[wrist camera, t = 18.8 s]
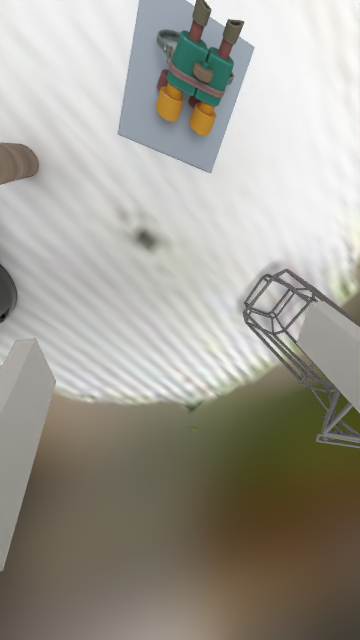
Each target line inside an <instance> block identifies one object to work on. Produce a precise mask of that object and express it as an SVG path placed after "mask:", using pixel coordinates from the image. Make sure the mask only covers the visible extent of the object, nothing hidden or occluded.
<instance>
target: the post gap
mask: <svg viewBox="0 0 360 640" xmlns="http://www.w3.org/2000/svg"><path fill="white" fill-rule="evenodd" d="M38 166H39V165H38V160H37V157H36V155H35V154H34V153H33V151H32V150H31V149H29V148H28V147H26V146H24V145H22V144H12V143H0V185H1V184H4V183H8V182H12V181H15V180H19V179H23V178H26V177H30V176H33V175H34V174H36V172H37V171H38Z"/></svg>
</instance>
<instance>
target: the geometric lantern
mask: <svg viewBox="0 0 360 640" xmlns="http://www.w3.org/2000/svg"><path fill="white" fill-rule="evenodd" d="M285 272H287V273H289V274H290V275H291V276H292V277H294V278H295V279H296V280H297V281H298V282H300V283H301V284H302V285H303V286H304V287H306V288H294V287H293V286H292V285H290V284H288V283H286V282H285V281H283V280H282V279H280V278H279V276H280V275H282V274H283V273H285ZM267 276H268V277H269V278H270V279H269V280H267V279H266V278H265V277H267ZM263 279H264V280H265V281H266V282H267V283H266V285H265V286H264V287H263V288H262V290H261V291H260V292H259V293H258V294H257V296H256V297H255V298H254V299H253V301H252V302H251V303H250V304H248V303H246V302H247V301H248V300H249V298H250V297H251V295H252V294H253V292H254V291H255V290H256V288H257V287H258V285H259V284H260V282H261V281H262V280H263ZM272 281H275V282H278V283H280V284H282V285H284V286H286V287H287V288H289V290H288V291H287V292H286V294H285V295H284V296H283V297H282V299H281V300H280V301H279V303H278V304H277V305H276V307H275V308H274V309H273V310H272V312H270V313H268V314H267V313H264V312H262V311H259V310H257V309H254V308H251V307H252V306H253V305H254V303H255V302H256V300H257V299H258V298H259V296H260V295H261V294H262V293H263V292H264V290H265V289H266V288H267V287H268V286H269V284H270V283H271V282H272ZM290 290H291V291H292V292H293V294H292V295H291V296H290V298H289V299H288V300H287V302H286V303H285V304H284V306H283V307H282V308H281V310H280V311H279V313H278V314H277V315H276V314H275V313H274V310H275V309H276V308H277V307H278V305H279V304H280V303H281V301H282V300H283V299H284V298H285V296H286V295H287V294H288V292H289V291H290ZM297 290H309V291H310V292H312V297H309V296H306V295H303V294H301V293H300V292H298V291H297ZM294 294H297V295H298V296H299V297H301V298H302V299H303V300H304V301H306V302H307V304H306V305H305V306H304V307H303V308H302V309H301V311H300V312H299V313H298V314H297V315H296V316H295V317H294V318H293V319H292V321H291V322H290V323H289V324H288V325H287V326H286V327H285V328H284V327H283V326H282V324H281V323H280V321H279V319H278V318H277V317H278V315H279V314H280V313H281V311H282V310H283V309H284V307H285V306H286V305H287V303H288V302H289V301H290V299H291V298H292V297H293V295H294ZM315 296H316V297H318V298H319V299H320V300H321V301H325V302H326V303H327V304H329V305H330V306H331V307H333V308H334V309H336V310H337V311H338V312H340V313H341V314H342V315H344V316H345V317H346V318H348V319H349V320H350V321H352V322H353V323H355V324H356V325H357V326H359V327H360V323H359V322H357V321H356V320H355V319H354V318H352V317H351V316H350V315H349V314H347V313H346V312H345V311H344V310H342V309H341V308H340V307H338V306H337V305H336V304H335V303H333V302H332V301H331V300H330V299H328V298H327V297H326V296H325V295H323V294H322V293H321V292H320V291H318V290H317V289H316V288H315V287H313V286H312V285H310V284H309V283H307V282H306V281H304V280H303V279H302V278H300V277H299V276H297V275H296V274H294V273H293V272H291V271H290V270H289V269H285V270H283V271H281V272H278V273H276V274H274V275H273V276H271V275H269V274H266V275H265V276H263V277H262V278H261V279H260V281H259V282H258V284H257V285H256V287H255V288H254V289H253V291H252V292H251V294H250V295H249V297H248V298H247V299H246V301H245V302H244V304H245V306H246V309H245V310H244V312H243V316H244V321H245V323H246V324H247V325H248V326H249V327H250V329H251V330H252V331H253V332H254V333H255V334H256V335H257V336H258V337H259V338H260V339H261V340H262V341H263V342H264V343H265V345H266V346H267V347H268V348H269V349H270V350H271V351H272V352H273V353H274V354H275V355H276V356H277V357H278V359H279V360H280V361H281V362H282V363H283V364H284V365H285V366H286V367H287V368H288V369H289V370H290V371H291V373H293V375H294V376H295V377H296V378H297V379H298V380H299V381H300V382H304V381H305V382H306V383H307V384H303V383H299V385H302V386H305V387H309V388H310V389H311V390H312V391H313V393H314V394H315V396H316V397H317V399H318V400H319V401H320V403H321V404H322V405H323V406H324V408H325V409H326V411H327V412H328V413H326V414H325V416H326V417H324V416H322V419H323V420H324V425H323V428H322V431H321V433H322V434H321V433H318V434H317V437H316V439H315V440H316V441H317V442H322V443H329V444H336V445H343V446H349V447H356V448H360V445H354V444H347V443H340V442H333V441H328V440H332V439H340V440H346V441H351V442H357V443H360V434H359V433H357V432H356V431H355V430H354V429H352V428H351V427H350V426H349V425H347V424H346V423H345V422H344V421H342V420H341V418H342V417H343V416H344V415H345V414H346V413H347V412H348V411H349V410H350V409H351V408H352V407H353V405H352V404H351V403H350V402H349V403H348V404H347V405H346V406H345V407H344V408H343V409H342V410H341V411H340V412H339V413H338V414H336V410H335V407H336V404H337V401H338V398H339V395H340V393H341V392H340V391H339V390H338V389H337V387H336V386H335V385H334V384H333V383H332V382H331V381H330V380H329V379H328V378H327V377H326V378H327V379H328V380H329V381H330V382H331V383H329V382H327V381H324V380H321V379H320V378H319V377H318V376H317V375H316V374H315V373H314V372H313V371H312V370H311V368H313V366H316V365H315V363H314V362H313V361H312V360H311V359H310V358H309V357H308V356H307V355H306V354H305V353H304V351H303V350H302V349H301V348H300V347H299V346H298V345H297V344H296V343H297V341H296V340H295V339H294V338H293V337H292V336H291V335H290V334H289V333H288V332H287V329H288V328H289V327H290V325H291V324H292V323H293V322H294V321H295V320H296V319H297V318H298V317H299V315H300V314H301V313H302V312H303V311H304V310H305V309H306V308H307V307H308V306H309V304H310V303H312V301H314V302H318V301H317V300H316V299H315ZM306 297H307V298H306ZM308 298H310V300H309V299H308ZM251 309H252V310H255V311H257V312H255V311H252V310H251ZM248 310H250V312H249V314H248V313H247V311H248ZM251 312H253V313H256V314H259V315H262V316H265V317H268V318H271V321H272V332H270V331H268V330H265V329H263V328H262V327H261V326H260V325H259V324H258V323H257V322H256V321H255V320H254V319H253V318H252V317H251V316H250V314H251ZM258 312H260V313H258ZM261 313H263V314H261ZM271 313H273V314H274V315H275V317H272V316H271V315H270V314H271ZM264 314H265V315H264ZM267 315H269V316H267ZM246 316H247V317H246ZM274 318H276V319H277V321H278V323H279V324H280V326H281V327H282V329H283V330H281V331H278V332H275V333H274V328H273V319H274ZM248 319H250V320H251V321H252V322H253V323H254V324H255V325H254V324H252V323H250V322H248ZM252 326H253V327H255V328H257V329H259V330H261V331H262V332H263V333H264V334H265V335H266V336H267V337H268V338H269V339H270V340H271V341H272V342H273V343H274V344H275V345H276V346H277V347H278V348H279V349H280V350H281V351H282V352H283V353H284V355H285V356H286V357H287V358H288V359H289V360H290V361H291V362H292V363H293V364H294V365H296V367H297V368H298V369H299V370H301V372H302V374H301V375H302V377H300V376H299V375H298V374H297V373H296V372H295V371H294V370H293V369H292V368H291V367H290V365H289V364H288V363H287V362H286V361H285V360H284V359H283V358H282V357H281V356H280V355H279V354H278V353H277V352H276V351H275V350H274V349H273V348H272V347H271V346H270V344H269V343H268V342H267V341H266V340H265V339H264V338H263V337H262V336H261V335H260V334H259V333H258V332H257V331H256V330H255V329H254V328H253V327H252ZM283 332H285V333H286V334H287V335H288V336H289V338H290V339H291V340H292V341H293V342H294V343H295V344H296V345H297V346H298V347H299V348H300V350H301V351H302V352H303V353H304V354H305V355H306V356H307V357H308V358H309V359H310V360H311V361H312V363H313V364H312V365H310V366H309V367H308V366H307V365H306V364H305V363H303V361H302V360H301V359H300V358H299V357H298V356H296V355H295V354H294V353H293V352H292V351H291V350H290V349H289V348H288V347H287V346H286V345H285V344H284V343H283V342H282V341H281V340H280V339H279V338H278V337H277V336H276V335H277V334H280V333H283ZM268 333H269V334H271V335H273V336H274V337H275V338H276V339H277V340H278V341H279V342H280V343H281V344H282V345H283V346H284V347H285V348H286V349H287V350H288V351H289V352H290V353H291V354H292V355H293V356H294V357H295V358H296V359H297V360H298V361H299V362H300V363H301V364H302V365H303V366H304V367H305V368H306V370H304V369H303V368H302V367H301V366H300V365H299V364H298V363H297V362H296V361H295V360H294V359H293V358H292V357H291V356H290V355H289V354H288V353H287V352H286V351H285V350H284V349H283V348H282V347H281V346H280V345H279V344H278V343H277V342H276V341H275V340H274V339H273V338H272V337H271V336H270V335H269V334H268ZM316 367H317V366H316ZM317 368H318V367H317ZM318 369H319V368H318ZM319 370H320V369H319ZM308 371H309V372H310V373H311V374H312V375H313V376H314V377H313V376H310V375H308V374H307V372H308ZM320 371H321V370H320ZM321 372H322V371H321ZM322 373H323V372H322ZM323 374H324V373H323ZM324 376H326V375H325V374H324ZM305 378H309V379H311V380H314V381H317V382H319V383H321V384H322V385H323V386H324V387H325V388H326V389H327V390H328V391H326V390H323V389H320V388H316V387H313V386H311V385H310V384H309V383H308V381H307V380H306V379H305ZM328 386H329V387H332V389H330V388H329V387H328ZM314 389H315V390H319V391H322V392H326V393H328V396H329V400H330V404H331V405H330V408H329V410H328V409H327V407H326V406H325V404H324V403H323V402H322V400H321V399H320V398H319V396H318V395H317V394H316V392H315V391H314ZM334 391H335V394H334V396H333V398H332V394H331V392H334ZM331 419H333V420H332V421H331ZM330 421H331V422H330ZM338 422H339V423H340V424H342V425H343V426H344V427H346V428H347V429H348V430H349V431H351V432H352V433H353V434H351V433H348V432H345V431H341V430H340V428H339V426H338V425H337V423H338ZM334 426H336V428H337V430H338V431H336V432H334V430H333V429H332V428H333V427H334ZM330 431H331V432H330ZM320 436H322V439H323V440H319V437H320Z"/></svg>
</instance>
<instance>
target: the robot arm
mask: <svg viewBox="0 0 360 640" xmlns="http://www.w3.org/2000/svg"><path fill="white" fill-rule="evenodd" d="M16 298H17V294H16V288H15V285H14V283H13V281H12V279H11V277H10V276H9V274H8V273H7V272H6V270H5V269H4V268H3V267H2V266H1V265H0V324H1V323H2V322H3V321H4V320H5V319H6V318H7V317H8V316H9V314H10V313H11V311H12V310H13V308H14V306H15V304H16ZM296 344H297V345H298V346H299V347H300V348H301V349H302V350H303V351H304V353H305V354H306V355H307V356H308V357H309V358H310V359H311V360H312V361H313V362H314V363H315V365H316V366H317V367H318V368H319V369H320V370H321V371H322V372H323V373H324V374H325V375H326V377H327V378H328V379H329V380H330V381H331V382H332V383H333V384H334V385H335V386H336V387H337V389H338V390H339V391H340V392H341V393H342V394H343V395H344V396H345V397H346V398H347V399H348V401H349V402H350V403H351V404H352V405H353V406H354V407H355V408H356V409H357V410H358V411H359V413H360V327H359V326H357V325H356V324H355V323H353V322H352V321H350V320H349V319H348V318H346V317H345V316H344V315H342V314H341V313H340V312H338V311H337V310H336V309H334V308H333V307H331V306H330V305H329V304H327V303H326V302H325V301H320V302H312V303H310V306H309V309H308V312H307V314H306V317H305V320H304V323H303V326H302V329H301V331H300V334H299V337H298V340H297V343H296ZM55 383H56V380H55V378H54V376H53V374H52V372H51V370H50V368H49V366H48V364H47V361H46V359H45V357H44V355H43V353H42V351H41V349H40V347H39V345H38V343H37V340H36V338H34V339H27V340H19V341H16V342H15V344H14V345H13V347H12V349H11V351H10V353H9V354H8V356H7V358H6V360H5V362H4V363H3V365H2V367H1V369H0V571H3V568H4V564H5V560H6V557H7V554H8V550H9V546H10V543H11V539H12V535H13V532H14V529H15V525H16V522H17V518H18V515H19V511H20V507H21V504H22V500H23V496H24V493H25V490H26V486H27V482H28V479H29V475H30V472H31V468H32V465H33V461H34V458H35V454H36V450H37V447H38V443H39V440H40V436H41V433H42V429H43V426H44V422H45V418H46V415H47V411H48V408H49V404H50V400H51V397H52V394H53V390H54V386H55Z"/></svg>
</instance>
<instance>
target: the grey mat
mask: <svg viewBox="0 0 360 640" xmlns="http://www.w3.org/2000/svg"><path fill="white" fill-rule="evenodd" d="M194 7H195V6H193V5H192V4H190V3H189V2H187V1H186V0H140V1H139V8H138V14H137V20H136V26H135V32H134V38H133V44H132V51H131V57H130V63H129V69H128V75H127V81H126V88H125V94H124V100H123V106H122V112H121V118H120V124H119V131H118V134H120V135H122V136H124V137H127V138H129V139H131V140H134V141H136V142H139V143H141V144H143V145H146V146H148V147H150V148H153V149H155V150H157V151H160V152H162V153H165V154H167V155H169V156H172V157H174V158H176V159H179V160H181V161H183V162H186V163H188V164H191V165H193V166H195V167H198V168H200V169H202V170H205V171H207V172H210V173H211V171H212V168H213V165H214V163H215V160H216V157H217V154H218V151H219V148H220V145H221V142H222V140H223V137H224V134H225V131H226V128H227V125H228V122H229V119H230V116H231V114H232V111H233V108H234V105H235V102H236V99H237V96H238V93H239V91H240V88H241V85H242V82H243V79H244V76H245V73H246V70H247V67H248V65H249V62H250V59H251V56H252V53H253V50H254V46H252V45H251V44H249V43H248V42H246V41H245V40H243V39H242V38H240V37H238V39H237V42H236V44H235V45H233V47H232V50H231V52H230V55H229V56H230V57H231V58H232V60H233V61H234V67H233V69H232V72H233V74H234V78H233V81H232V83H231V84H230V85H227V86H226V88H225V93H224V95H223V97H222V98H221V101H220V103H219V105H218V106H215V108H214V110H213V111H214V112H215V113H216V118H215V121H214V124H213V126H212V129H211V131H210V133H209V134H208V135H206V136H203V135H200V134H198V133H196V132H195V131H194V130H193V129H192V127H191V126H190V123H189V119H190V116H191V114H192V112H193V108H192V107H191V106H190V105H189V103H188V100H189V98H190V95H188V94H187V93H185V92H183V93H182V97H183V98H184V101H183V105H182V109H181V112H180V116H179V119H178V120H177V121H168V120H166V119H164V118H163V117H161V116H160V114H159V113H158V112H157V109H156V103H157V99H158V96H159V93H160V92H159V91H158V89H157V84H158V81H159V78H160V75H161V72H162V70H163V69H166V70H169V65H168V64H167V57H166V54H165V53H164V52H163V50H162V49H161V48H160V47H159V46H158V45H157V43H156V40H157V35H158V32H159V31H160V30H163V29H169V30H174V31H177V32H180V33H181V32H182V31H183V30H185V31H188V32H190V29H191V25H192V21H193V18H192V15H193V11H194ZM224 29H225V27H224V26H223V25H221V24H220V23H218V22H217V21H215V20H214V19H212V18H211V17H209V20H208V23H207V26H206V27H205V26H204V30H203V33H202V36H201V40H203V41H204V42H205V43H206V45H207V48H210V47H215V48H217V49H219V47H220V45H221V42H222V39H223V35H222V34H223V32H224ZM163 40H164V41H165V42H166V43H167V44H168V45H169V46H171V45H172V46H173V48H174V52H175V49H176V45H177V42H178V41H177V40H174V39H170V38H163ZM172 54H173V51H172ZM172 54H171V55H172ZM168 62H169V63H170V58H169V60H168Z"/></svg>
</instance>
